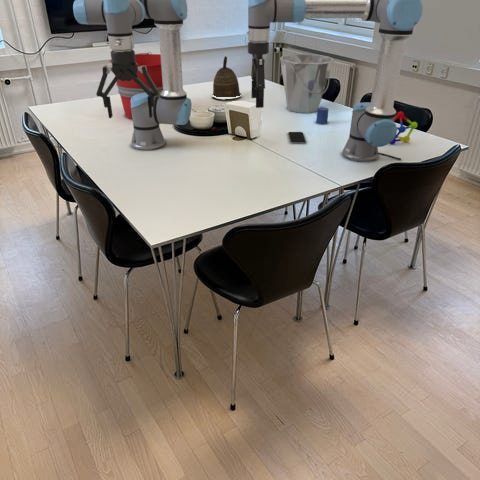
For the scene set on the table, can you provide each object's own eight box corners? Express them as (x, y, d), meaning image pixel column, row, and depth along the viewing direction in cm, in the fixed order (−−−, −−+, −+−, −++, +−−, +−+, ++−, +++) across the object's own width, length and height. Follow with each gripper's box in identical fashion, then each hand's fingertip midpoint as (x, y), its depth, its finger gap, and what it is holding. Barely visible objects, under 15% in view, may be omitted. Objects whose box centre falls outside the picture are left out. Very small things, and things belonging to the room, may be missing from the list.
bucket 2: (304, 119, 242) (309, 65, 227) (267, 107, 261) (268, 57, 246) (338, 109, 259) (345, 58, 244) (301, 99, 278) (304, 51, 263)
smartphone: (290, 142, 209) (288, 131, 222) (290, 143, 209) (288, 133, 222) (306, 142, 209) (302, 131, 221) (305, 143, 209) (302, 133, 222)
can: (325, 125, 234) (327, 110, 230) (314, 123, 236) (316, 109, 232) (328, 121, 239) (329, 107, 235) (317, 120, 241) (319, 106, 237)
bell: (227, 105, 294) (202, 96, 282) (238, 66, 289) (213, 55, 277) (243, 108, 280) (217, 98, 268) (255, 66, 275) (229, 55, 263)
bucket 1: (124, 105, 264) (117, 51, 248) (182, 105, 263) (179, 51, 247) (107, 122, 235) (98, 62, 219) (173, 123, 234) (169, 63, 218)
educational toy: (377, 146, 209) (379, 114, 202) (384, 138, 219) (386, 107, 211) (411, 149, 202) (415, 116, 195) (417, 141, 212) (420, 109, 204)
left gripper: (79, 52, 136) (91, 120, 147) (161, 51, 137) (166, 119, 149) (85, 48, 142) (96, 113, 154) (163, 47, 144) (168, 112, 155)
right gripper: (244, 36, 166) (243, 94, 177) (252, 47, 145) (251, 112, 156) (264, 36, 166) (262, 94, 178) (274, 46, 145) (272, 111, 157)
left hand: (131, 116), depth 151 cm, fingers open, 13 cm apart
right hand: (257, 102), depth 167 cm, fingers open, 13 cm apart
